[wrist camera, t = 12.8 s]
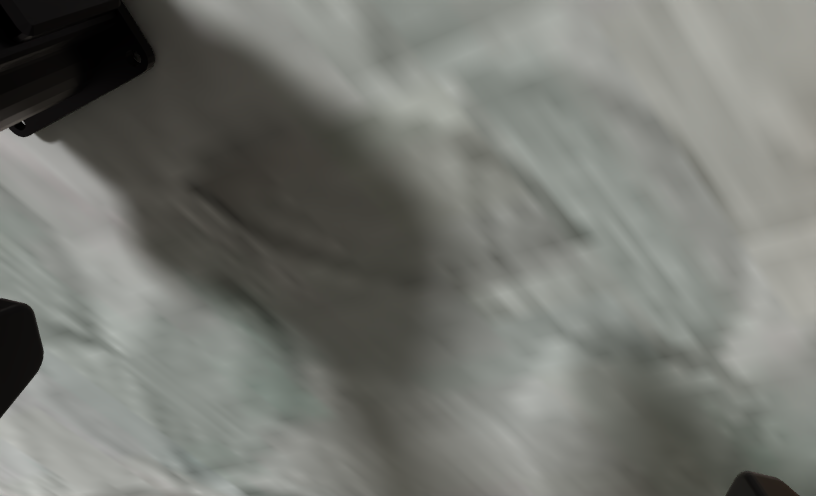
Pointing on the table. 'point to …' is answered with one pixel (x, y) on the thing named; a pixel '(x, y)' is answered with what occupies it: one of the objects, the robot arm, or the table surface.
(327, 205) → the table surface
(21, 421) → the table surface
